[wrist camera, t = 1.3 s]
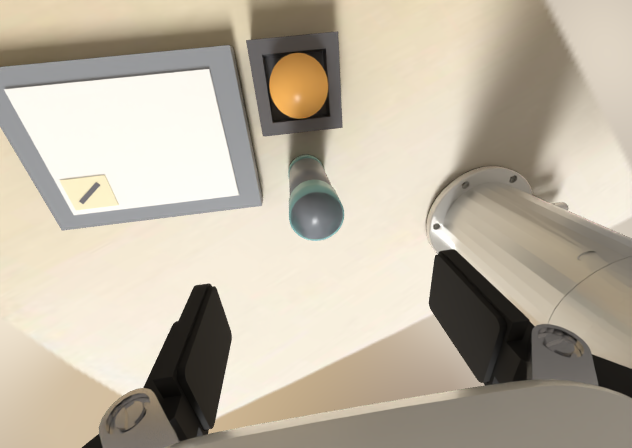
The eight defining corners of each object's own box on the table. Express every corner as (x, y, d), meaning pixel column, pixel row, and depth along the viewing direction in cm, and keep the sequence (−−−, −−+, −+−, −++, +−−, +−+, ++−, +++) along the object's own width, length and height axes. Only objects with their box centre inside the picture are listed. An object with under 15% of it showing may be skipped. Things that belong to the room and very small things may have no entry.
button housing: (332, 38, 23) (337, 31, 21) (336, 123, 26) (342, 127, 24) (250, 45, 23) (246, 40, 20) (265, 131, 26) (262, 136, 23)
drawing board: (232, 47, 23) (228, 44, 21) (263, 200, 29) (261, 207, 28) (-14, 71, 22) (-39, 70, 20) (72, 223, 28) (59, 232, 27)
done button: (322, 53, 22) (325, 49, 19) (326, 113, 24) (330, 115, 21) (266, 59, 21) (264, 55, 19) (275, 118, 23) (274, 121, 21)
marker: (322, 152, 28) (342, 187, 18) (325, 187, 29) (345, 236, 20) (285, 156, 27) (285, 194, 18) (290, 191, 29) (292, 243, 19)
